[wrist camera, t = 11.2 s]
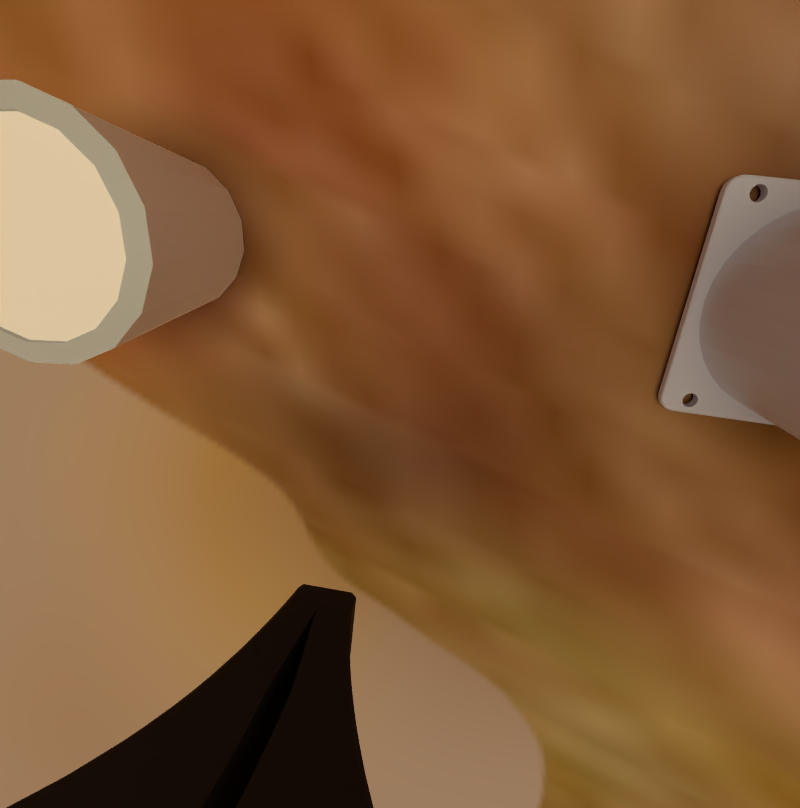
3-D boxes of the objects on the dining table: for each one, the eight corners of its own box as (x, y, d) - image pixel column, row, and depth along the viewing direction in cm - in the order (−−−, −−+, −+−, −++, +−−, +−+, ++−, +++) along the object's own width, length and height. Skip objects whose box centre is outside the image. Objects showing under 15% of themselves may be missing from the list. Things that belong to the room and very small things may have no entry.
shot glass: (63, 156, 18) (-158, 113, 12) (230, 114, 17) (88, 40, 11) (126, 335, 21) (-33, 383, 14) (280, 308, 19) (185, 346, 13)
